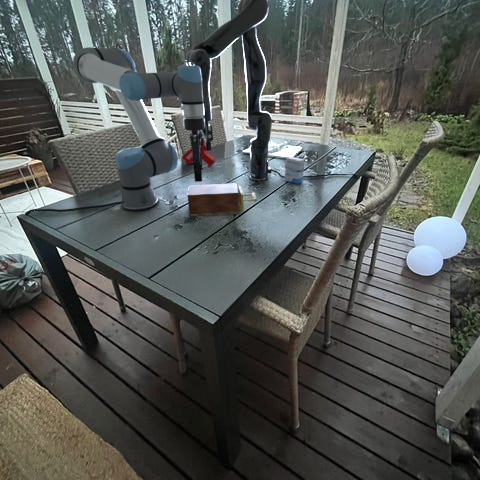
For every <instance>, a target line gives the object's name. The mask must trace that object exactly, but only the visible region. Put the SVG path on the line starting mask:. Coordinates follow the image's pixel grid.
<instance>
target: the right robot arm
mask: <svg viewBox="0 0 480 480" xmlns="http://www.w3.org/2000/svg"><path fill="white" fill-rule="evenodd" d="M268 13H269V1H268V0H239V2H238V7H237V15H235V16H234V17H233V18H231V19H230V20H228V21H226V22H225V23H223V24H222V25H220V26H219V27H217V28H216V29H215V30H214V31H213V32H212V33H210V35H208V36H207V37H206V39H204V40H203V41H201V42H199V43H198V44H197V45H195V46H194V47H193V48H191V49H190V50H189V51H188V52H187V54H186V57H185V65H186V66H199V67H200V69H201V76H202V89H203V103H204V116H203V117H204V118H205V128H204V129H202V130H199V133H201V146H204V140H205V141H206V142H205V143H206V150H207V152H209V151H211V150H212V142H213V141H214V131H213V125H211V124H209V122H210V121H212V119H213V117H212V102H211V96H210V79H211V72H212V60H213V59H215V58H218V57H219V56H220V55H221V54H222V53H224V52H225V51H226V50H227V48H229V47H230V46H231V45H232V44H233V43H234V42H236V40H238V39H239V38H240V37H241V40H242V49H243V50H242V51H243V59H244V75H245V83H246V85H245V86H246V101H247V104H246V105H247V108H246V109H247V111H246V112H247V113H246V115H247V118H246V120H247V125H248V127H249V129H250V130H251V131H254V132H256V137H254V138H251V139H250V146H251V148H250V154H249V157H250V158H249V160H250V161H249V165H250V166H249V167H250V168H249V178H250V180H253V181H256V182H257V181H265V180H268V179H269V174H272V172H273V173H275V174H277V175H278V176H279V177H280V178H283V179H285V175H282V174H281V173H280V172H279V171H277V170H276V169H272V167H271V166H270V165H269V156H268V145H269V141H270V139H271V136H272V128H273V127H272V126H273V120H272V115H271V113H270V112H268V111H262V110H261V95H262V92H263V90H264V87H265V84H266V81H267V66H266V59H265V56H264V53H263V51H262V49H261V47H260V44H259V41H258V38H257V37H258V36H257V26H258V25H259V24H261V23H262V22H263V21H265V20H266V18H267V16H268ZM203 139H204V140H203ZM327 174H328V175H323V174H316V175H317V176H312V175H303V179H304V178H319V177H328V176H348V175H351V176H354V177H357V174H355V175H353V174H337V173H327Z"/></svg>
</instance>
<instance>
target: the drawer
mask: <svg viewBox="0 0 480 480" xmlns="http://www.w3.org/2000/svg"><path fill="white" fill-rule="evenodd" d="M237 188H238V192H239V211H240V212H243V211H244V202H254V203H256V202H258V197H257V196H256V193H255V192H252V193H244V192H243V188H242V185H237ZM249 196H250V197H252V198H247V199H245V198H244V197H249Z"/></svg>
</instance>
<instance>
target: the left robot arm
mask: <svg viewBox="0 0 480 480" xmlns="http://www.w3.org/2000/svg"><path fill="white" fill-rule="evenodd" d="M72 64H73V68H74V70H75V72H76V74H77V75H78V76H79V77H80V78H81V79H82V80H83V81H85V82H88V83H90V84H101V85H103V86H106V87H108V88H109V89H110V90H111V91H113V92H115V94H116V95H117V98H118V99H119V102H120V104H121V105H122V108H123V109H124V112H125V113H126V116H127V118H128V120H129V122H130V123H131V126H132V128H133V130H134V132H135V134H136V136H137V138H138V140H139V142H140V146H133V147H126V148H123V149H122V150H120V151H118V152H117V153H116V154H115V158H114V159H115V166H116V169H117V172H118V173H117V174H118V175H119V177H118V178H119V180H120V184H121V187H122V194H121V200H120V201H115V202H110V203H105V204H98V205H97V204H95V205H89V206H79V207H74V208H73V207H72V208H63V209H59V208H57V209H56V208H31V209H29V210H27V211H26V212H25V213H24V214H25V216H28V215H30V214H31V213H32V212H56V213H57V212H58V213H65V212H73V211H74V212H75V211H81V210H89V209H96V208H97V209H98V208H106V207H111V206H115V205H116V206H117V205H122V208H123V209H124V210H126V211H129V212H130V211H131V212H138V211H139V212H141V211H145V210H146V211H147V210H150V209H152V208H153V207H155V206H156V205H158V203H159V198H158V196H157V193H156V192H155V190H154V188H153V186H152V184H151V178H153V177H156V176H160V175H163V174H167V173H169V172H172V171H174V170H175V169H176V168H177V166H178V163H179V155H178V152H177V149H176V147H175V146H174V145H173V144H172V143H167V140H166V139H165V138H164V137H162V136H160V134H159V132H158V130H157V128H156V126H155V124H154V122H153V120H152V118H151V116H150V114H149V112H148V109H147V107H146V105H145V103H144V102H143V100H153V99H163V98H180V101H181V102H180V103H181V106H180V108H179V109H180V110H181V111H182V116H183V119H182V121H183V128H184V130H186V131H190V132H191V133H190V134H189V140H190V148H192V155H193V162H191V163H190V164H191V166H193V175H194V182H195V183H197V182H198V183H200V182H203V173H202V171H203V159H202V156H201V154H200V153H203V150H201V133H199V130H202V129H204V128H205V118H204V117H203V116H204V103H203V89H202V76H201V69H200V67H199V66H187V65H179V66H178V67H177V72H176V71H175V72H174V71H162V72H138V71H137V69H136V63H135V61H134V58H133V57H132V56H131V54H130V53H129V52H128V51H126V49H122V48H117V47H111V48H109V47H108V48H107V47H91V46H90V47H83V48H81V49H79V50H77V51H76V53H75V54H74V56H73V60H72ZM37 209H38V210H37ZM34 210H35V211H34ZM31 211H32V212H31Z"/></svg>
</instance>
